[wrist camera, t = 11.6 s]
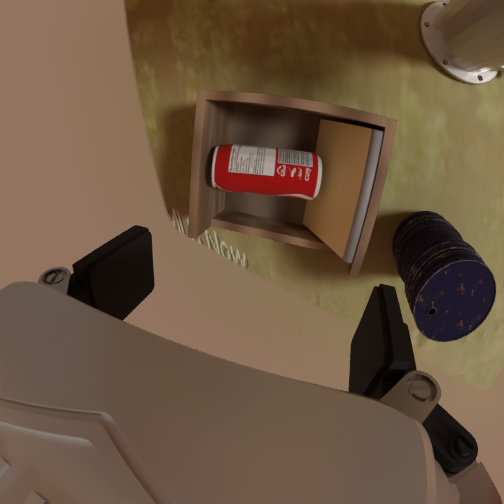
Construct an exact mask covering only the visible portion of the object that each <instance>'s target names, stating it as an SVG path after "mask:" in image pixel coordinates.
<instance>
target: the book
mask: <svg viewBox="0 0 504 504" xmlns="http://www.w3.org/2000/svg"><path fill="white" fill-rule="evenodd" d="M383 135H384V132H382V131H378V130H374V129H370V128H365V127H361V126H356V125H351V124H346V123H341V122H335V121H330V120H324V119H320V126H319V132H318V139H317V145H316V151H315V153H316V154H317V155H318V156H319V157H320V158H321V160H322V178H321V184H320V189H319V192H318V195H317V197H314V198H313V199H312V200H307V202H306V208H305V213H304V218H303V224H304V225H305V226H306V227H307V228H308V229H309V230H311V231H312V232H313V233H314V234H315V235H316V236H317V237H319V238H320V239H321V240H322V241H323V242H324V243H325V244H326V245H328V246H329V247H330V248H331V249H332V250H333V251H334V252H335V253H336V254H338V255H339V256H340V257H341V258H342V259H343V261H345V262H347V263H352V262H353V259H354V256H355V253H356V249H357V246H358V242H359V239H360V235H361V232H362V228H363V224H364V221H365V217H366V213H367V209H368V205H369V201H370V197H371V193H372V188H373V184H374V180H375V175H376V171H377V166H378V161H379V156H380V151H381V146H382V140H383Z"/></svg>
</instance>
